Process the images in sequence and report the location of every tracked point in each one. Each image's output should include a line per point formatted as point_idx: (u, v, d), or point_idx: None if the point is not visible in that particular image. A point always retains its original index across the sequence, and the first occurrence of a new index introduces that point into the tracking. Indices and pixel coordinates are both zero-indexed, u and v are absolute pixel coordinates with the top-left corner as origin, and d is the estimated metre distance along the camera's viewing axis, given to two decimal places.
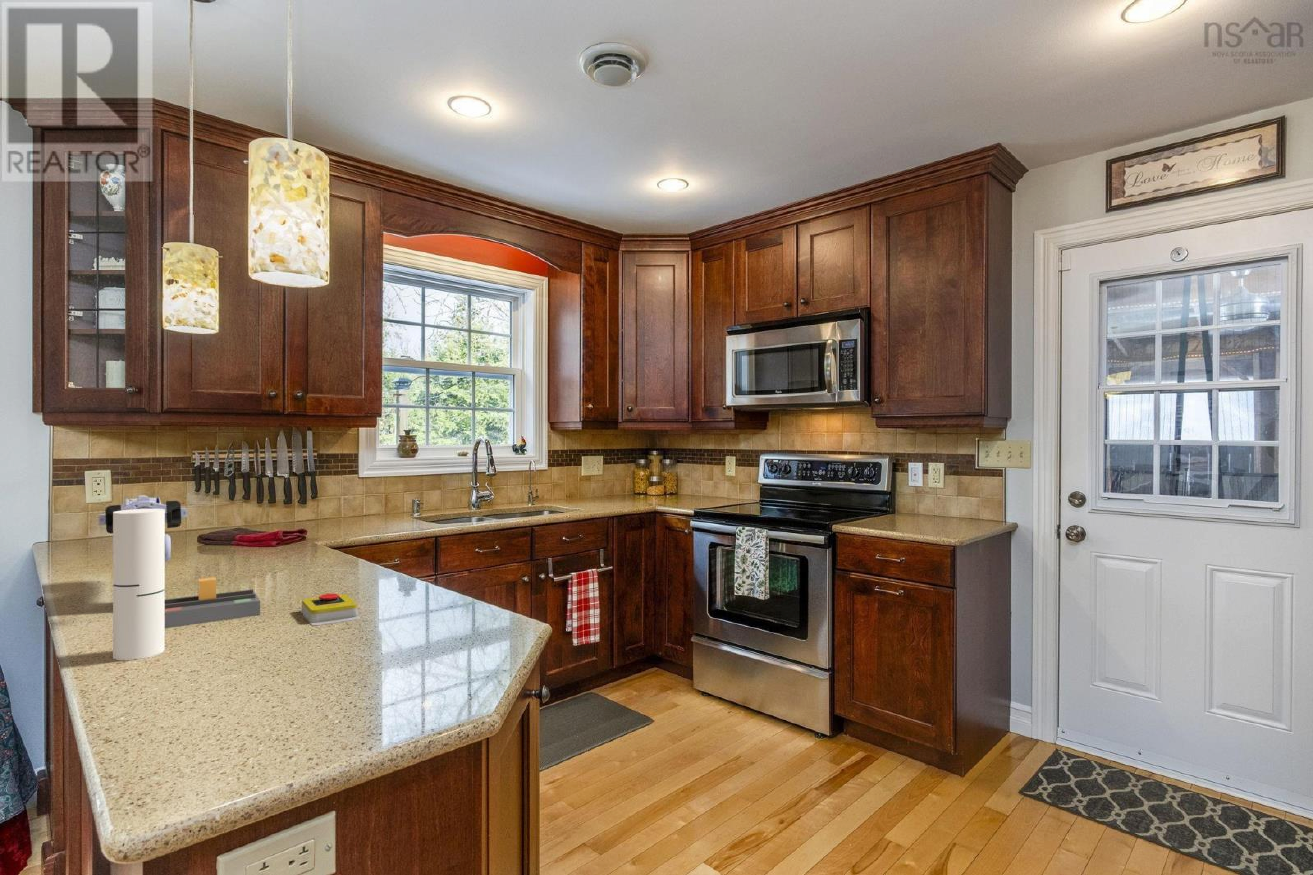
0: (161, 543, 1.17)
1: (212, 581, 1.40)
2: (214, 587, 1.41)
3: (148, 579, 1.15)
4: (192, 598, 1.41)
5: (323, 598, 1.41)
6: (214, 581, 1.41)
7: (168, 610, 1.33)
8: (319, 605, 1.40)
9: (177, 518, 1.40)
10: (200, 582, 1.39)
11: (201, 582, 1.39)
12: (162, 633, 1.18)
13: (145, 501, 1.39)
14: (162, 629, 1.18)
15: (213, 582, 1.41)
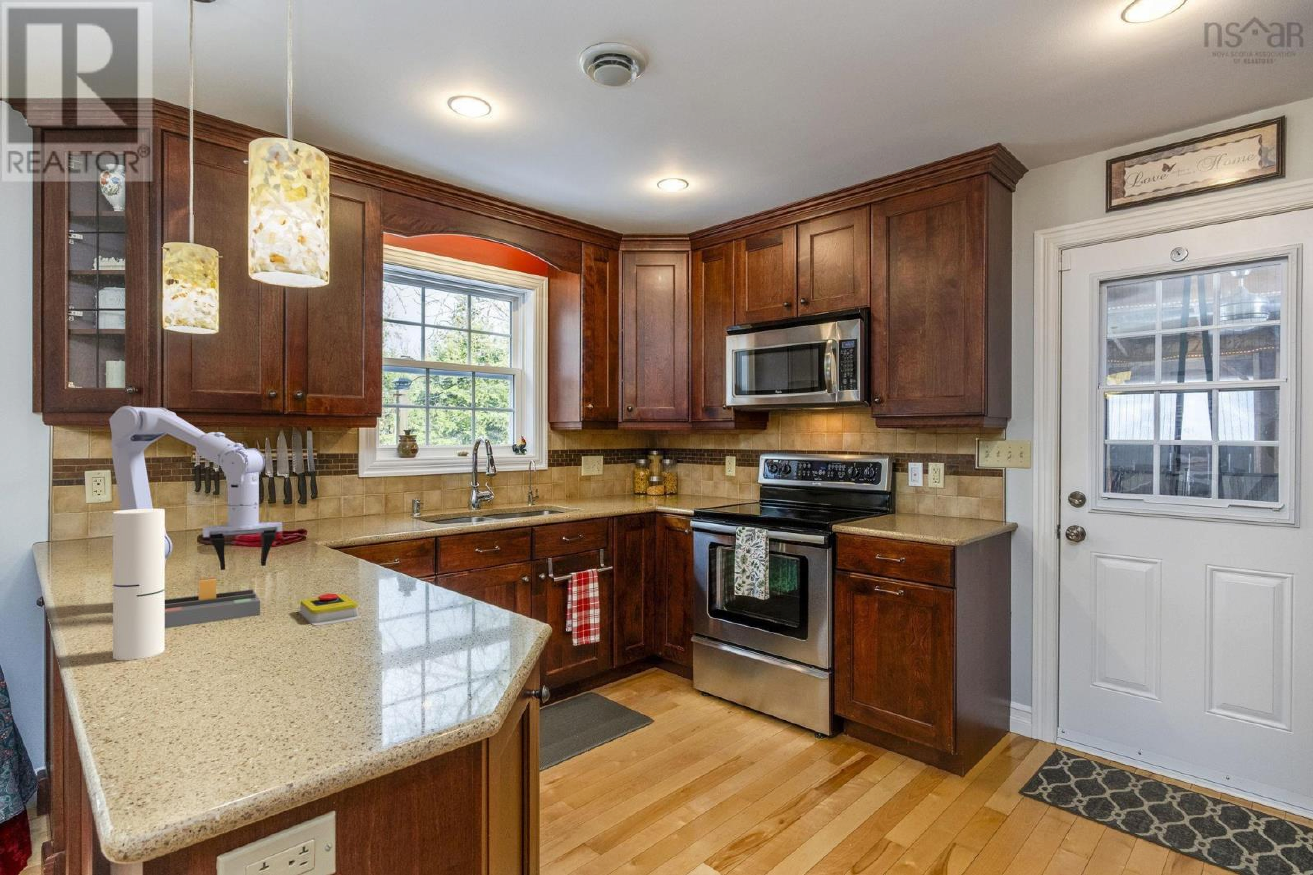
0: (161, 543, 1.17)
1: (212, 581, 1.40)
2: (214, 587, 1.41)
3: (148, 579, 1.15)
4: (192, 598, 1.41)
5: (323, 598, 1.41)
6: (214, 581, 1.41)
7: (168, 610, 1.33)
8: (319, 605, 1.40)
9: None
10: (200, 582, 1.39)
11: (201, 582, 1.39)
12: (162, 633, 1.18)
13: (246, 529, 1.43)
14: (162, 629, 1.18)
15: (213, 582, 1.41)
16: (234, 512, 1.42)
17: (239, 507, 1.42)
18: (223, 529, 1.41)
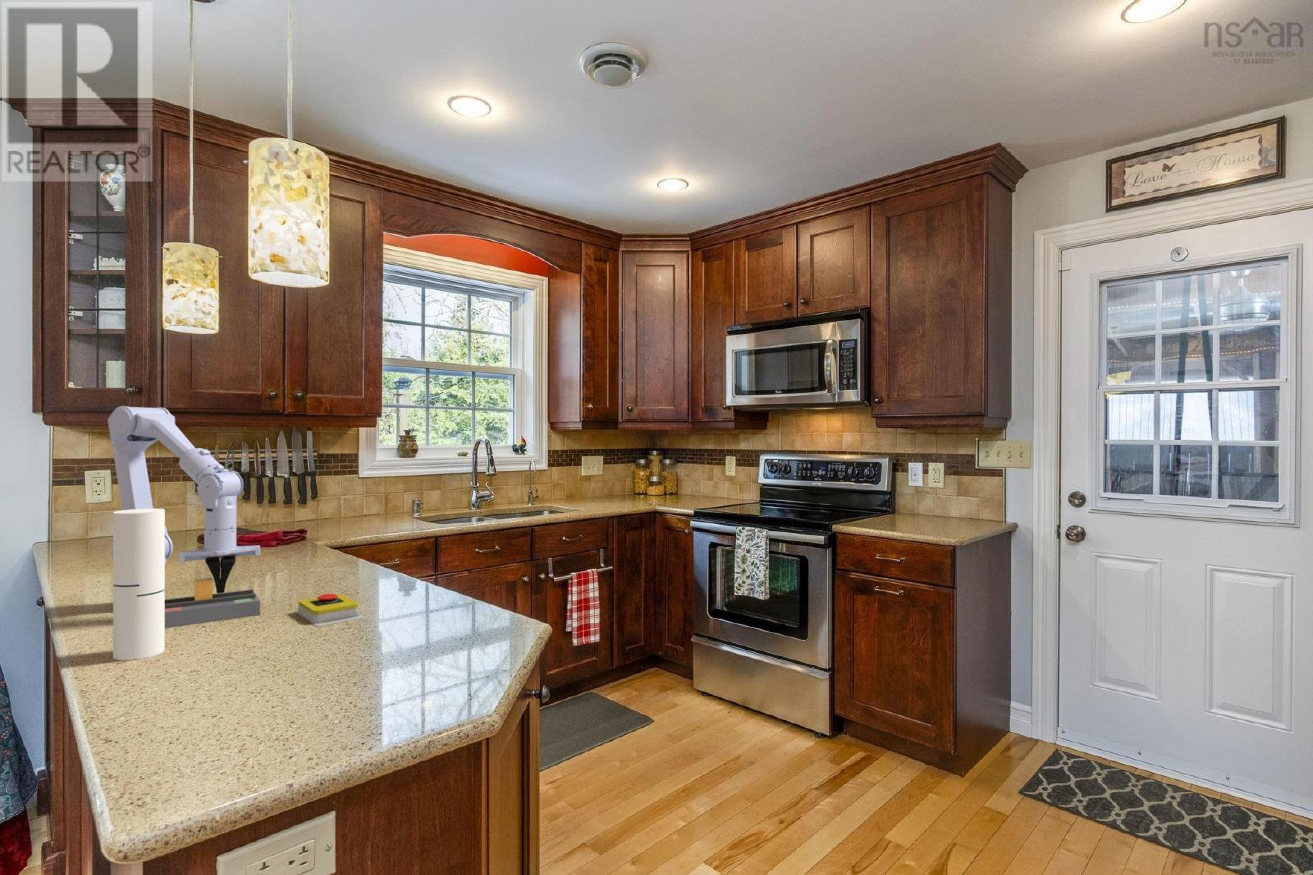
0: (161, 543, 1.17)
1: (208, 582, 1.40)
2: (210, 587, 1.40)
3: (148, 579, 1.15)
4: (192, 598, 1.41)
5: (323, 599, 1.41)
6: (210, 581, 1.40)
7: (168, 610, 1.33)
8: (320, 606, 1.39)
9: None
10: (196, 582, 1.39)
11: (197, 582, 1.39)
12: (162, 633, 1.18)
13: None
14: (162, 629, 1.18)
15: (210, 583, 1.40)
16: (211, 537, 1.40)
17: (216, 531, 1.40)
18: (199, 554, 1.39)
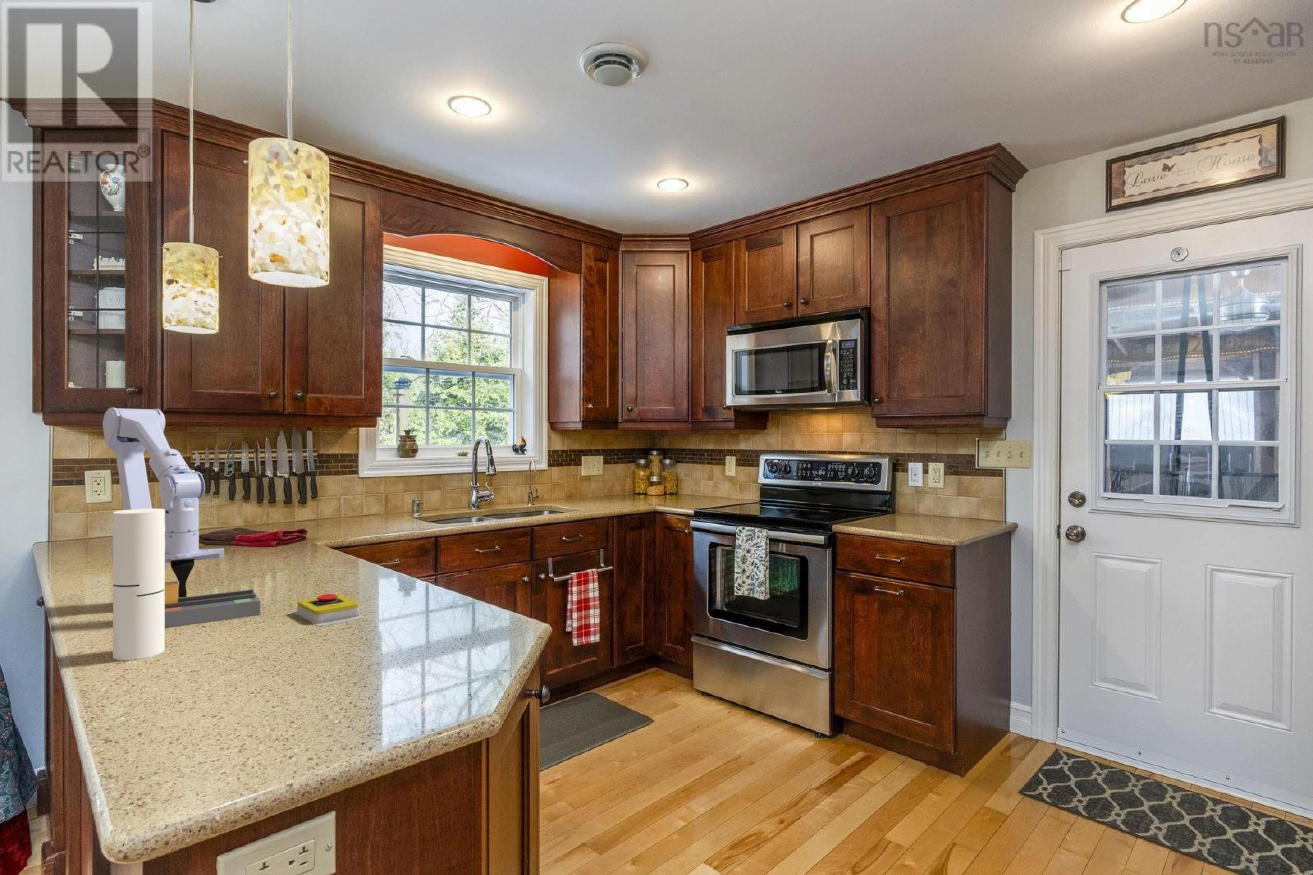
0: (161, 543, 1.17)
1: (173, 585, 1.36)
2: (175, 591, 1.37)
3: (148, 579, 1.15)
4: (192, 598, 1.41)
5: (323, 599, 1.41)
6: (175, 585, 1.37)
7: (168, 610, 1.33)
8: (320, 606, 1.39)
9: None
10: None
11: None
12: (162, 633, 1.18)
13: (184, 557, 1.36)
14: (162, 629, 1.18)
15: (175, 586, 1.37)
16: (171, 540, 1.36)
17: (176, 534, 1.36)
18: None
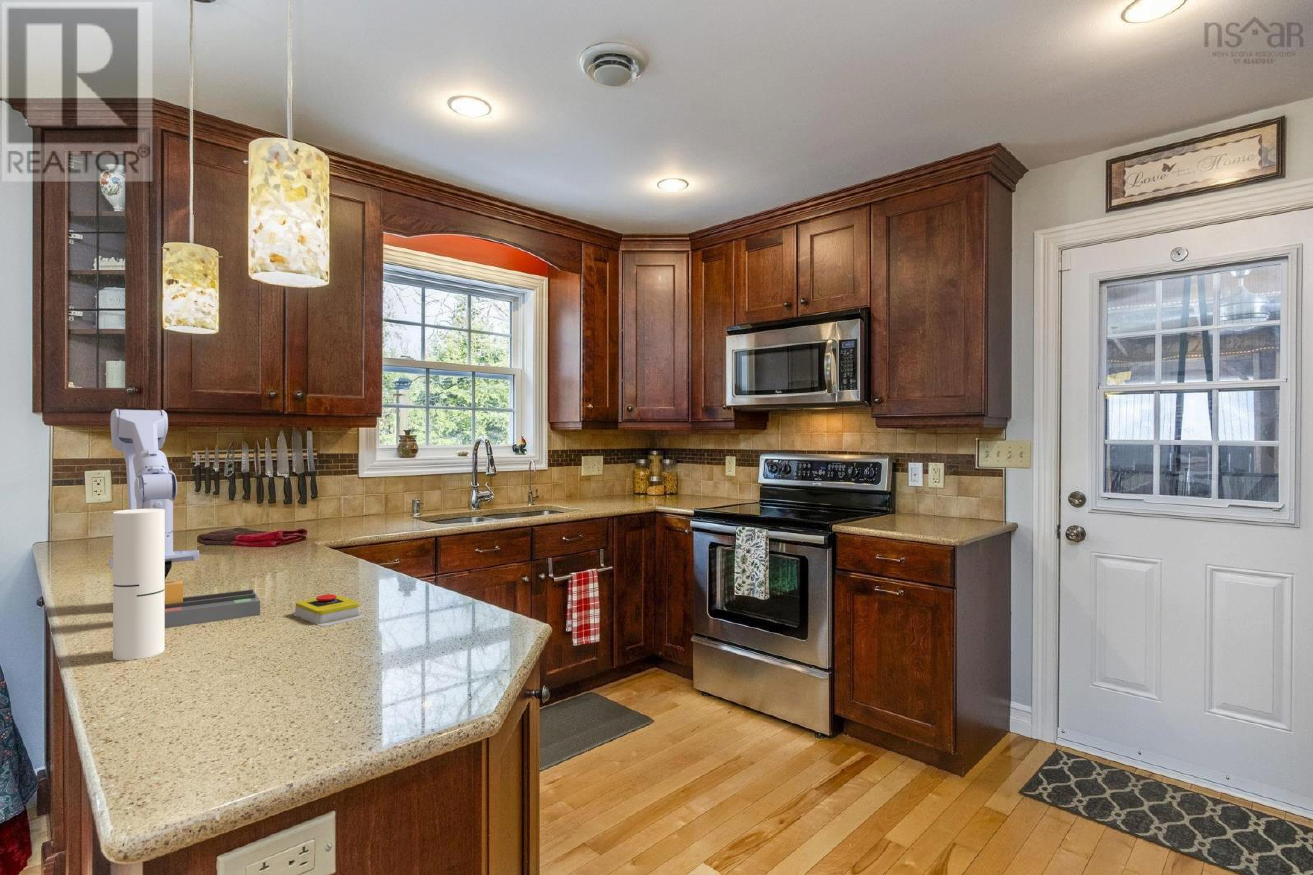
0: (161, 543, 1.17)
1: (179, 585, 1.37)
2: (181, 591, 1.37)
3: (148, 579, 1.15)
4: (192, 598, 1.41)
5: (323, 599, 1.41)
6: (181, 585, 1.37)
7: (168, 610, 1.33)
8: (321, 606, 1.39)
9: None
10: (166, 586, 1.36)
11: (167, 586, 1.36)
12: (162, 633, 1.18)
13: None
14: (162, 629, 1.18)
15: (180, 586, 1.37)
16: None
17: None
18: None
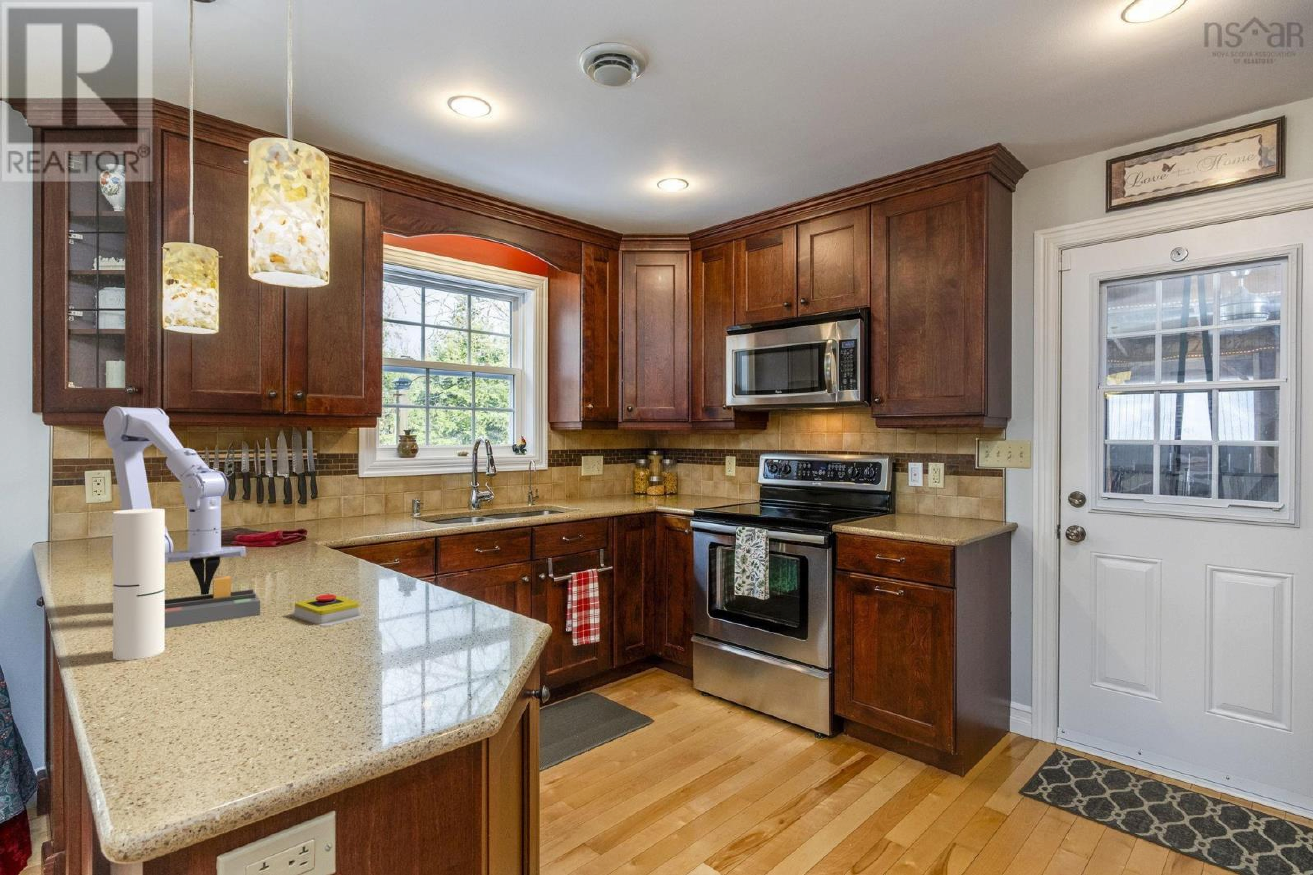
0: (161, 543, 1.17)
1: (226, 580, 1.42)
2: (228, 585, 1.42)
3: (148, 579, 1.15)
4: (192, 598, 1.41)
5: (323, 599, 1.41)
6: (228, 579, 1.42)
7: (168, 610, 1.33)
8: (321, 606, 1.39)
9: None
10: (215, 580, 1.41)
11: (216, 580, 1.41)
12: (162, 633, 1.18)
13: (207, 555, 1.39)
14: (162, 629, 1.18)
15: (228, 581, 1.42)
16: (194, 538, 1.38)
17: (200, 532, 1.38)
18: (183, 555, 1.37)
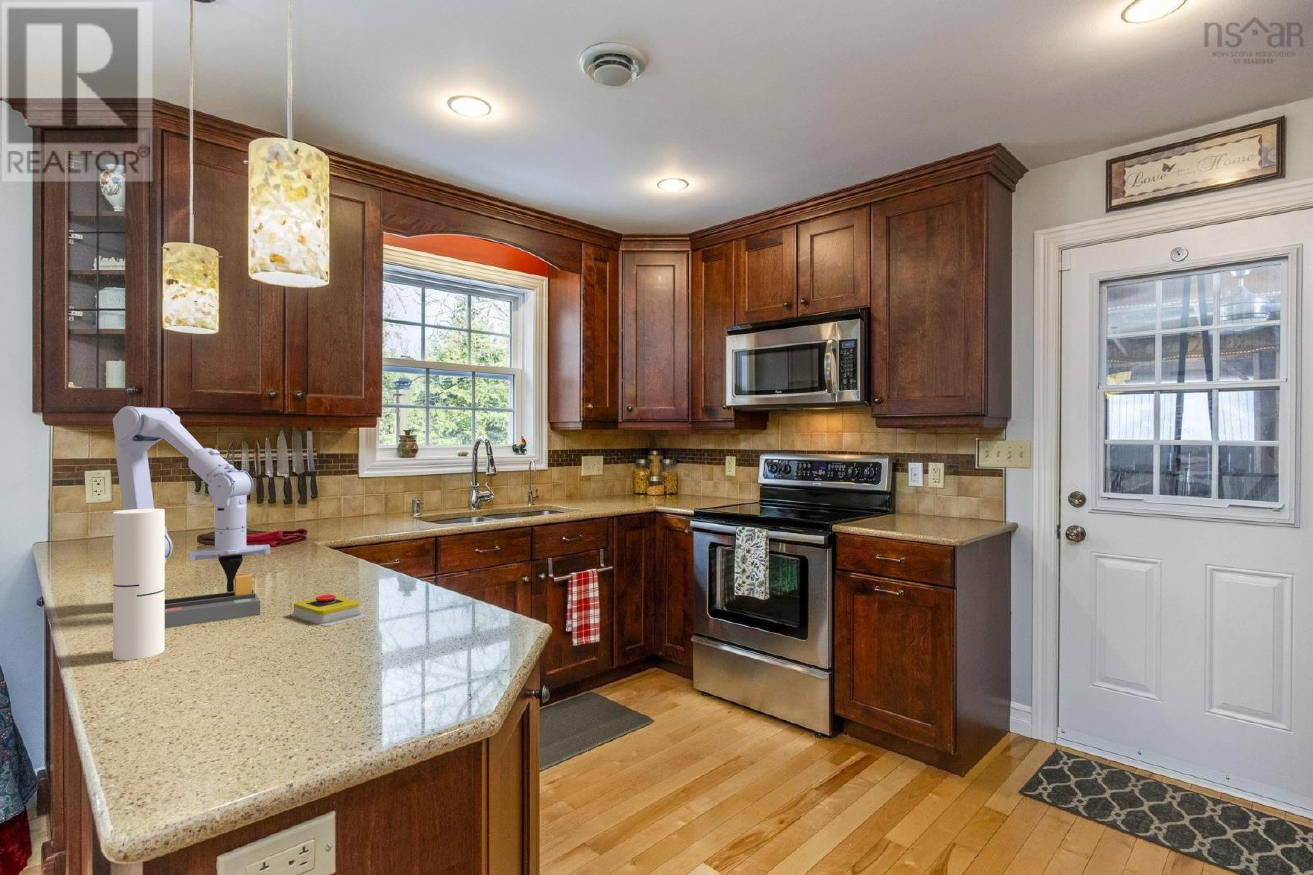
0: (161, 543, 1.17)
1: (248, 578, 1.44)
2: (250, 583, 1.44)
3: (148, 579, 1.15)
4: (192, 598, 1.41)
5: (323, 599, 1.40)
6: (250, 577, 1.44)
7: (168, 610, 1.33)
8: (321, 606, 1.39)
9: None
10: (237, 578, 1.43)
11: (238, 578, 1.43)
12: (162, 633, 1.18)
13: None
14: (162, 629, 1.18)
15: (249, 578, 1.44)
16: (221, 536, 1.41)
17: (226, 531, 1.41)
18: (210, 553, 1.40)
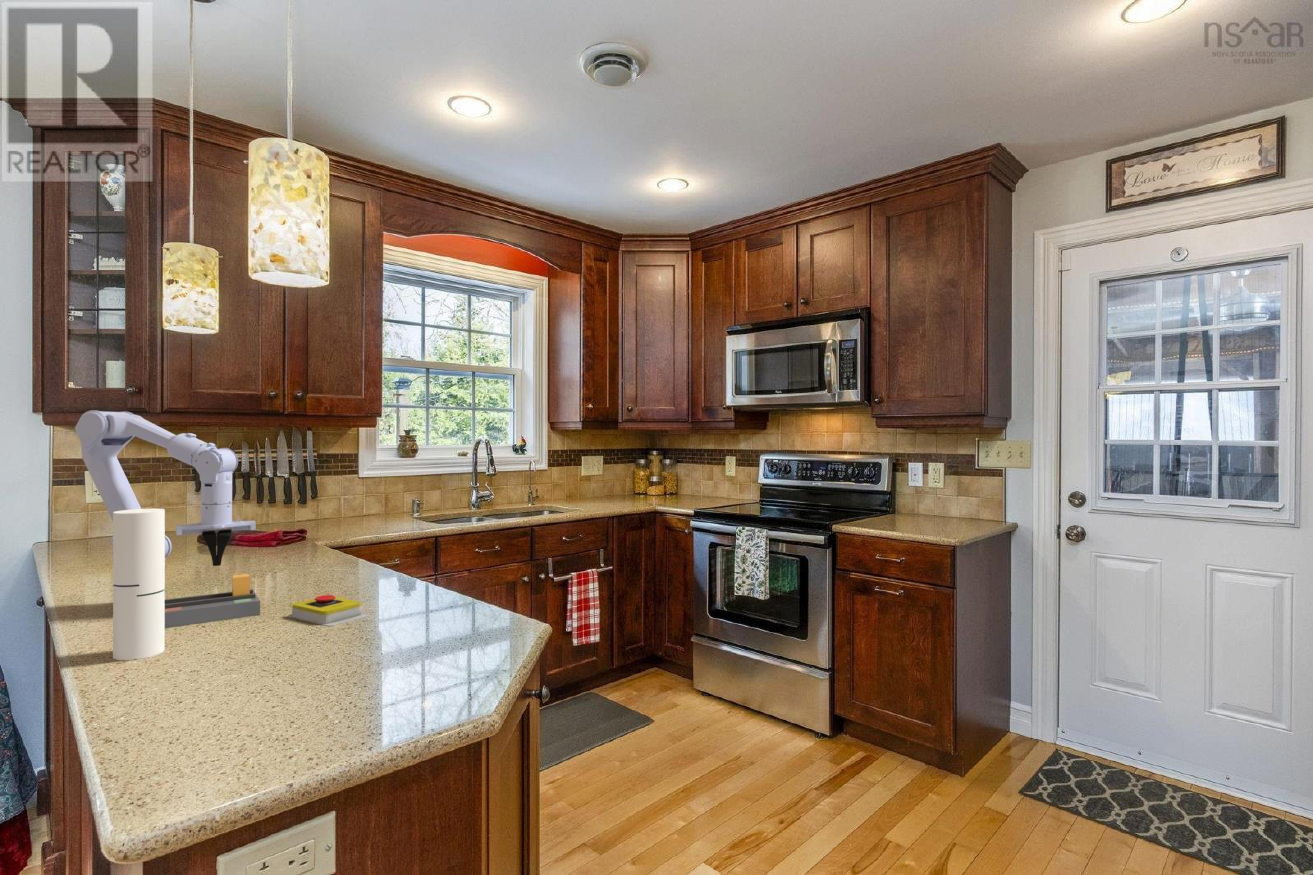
0: (161, 543, 1.17)
1: (246, 578, 1.44)
2: (248, 583, 1.44)
3: (148, 579, 1.15)
4: (192, 598, 1.41)
5: (323, 600, 1.40)
6: (248, 577, 1.44)
7: (168, 610, 1.33)
8: (323, 607, 1.39)
9: None
10: (234, 578, 1.43)
11: (235, 578, 1.43)
12: (162, 633, 1.18)
13: None
14: (162, 629, 1.18)
15: (247, 579, 1.44)
16: (207, 511, 1.44)
17: (212, 506, 1.44)
18: (196, 527, 1.43)
